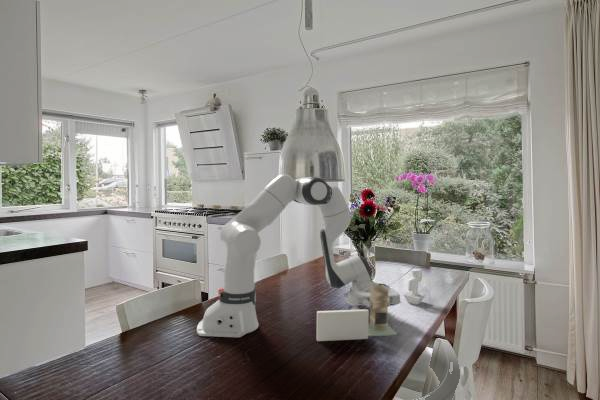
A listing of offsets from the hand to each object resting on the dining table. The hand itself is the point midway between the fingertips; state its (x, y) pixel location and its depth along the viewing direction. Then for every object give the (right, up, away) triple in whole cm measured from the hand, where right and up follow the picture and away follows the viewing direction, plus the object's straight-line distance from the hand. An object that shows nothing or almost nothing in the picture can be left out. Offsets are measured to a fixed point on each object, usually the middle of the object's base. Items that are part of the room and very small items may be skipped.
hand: (379, 305), depth 131 cm
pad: (0, -10, +2) cm, 10 cm away
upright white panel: (-14, -10, -6) cm, 19 cm away
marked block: (0, -8, +1) cm, 8 cm away
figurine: (+22, -8, +30) cm, 39 cm away
